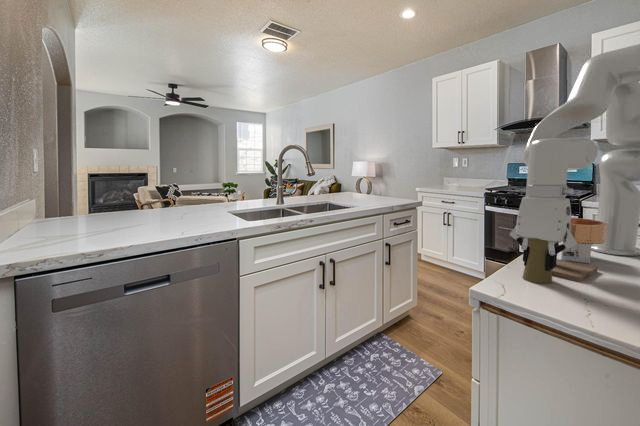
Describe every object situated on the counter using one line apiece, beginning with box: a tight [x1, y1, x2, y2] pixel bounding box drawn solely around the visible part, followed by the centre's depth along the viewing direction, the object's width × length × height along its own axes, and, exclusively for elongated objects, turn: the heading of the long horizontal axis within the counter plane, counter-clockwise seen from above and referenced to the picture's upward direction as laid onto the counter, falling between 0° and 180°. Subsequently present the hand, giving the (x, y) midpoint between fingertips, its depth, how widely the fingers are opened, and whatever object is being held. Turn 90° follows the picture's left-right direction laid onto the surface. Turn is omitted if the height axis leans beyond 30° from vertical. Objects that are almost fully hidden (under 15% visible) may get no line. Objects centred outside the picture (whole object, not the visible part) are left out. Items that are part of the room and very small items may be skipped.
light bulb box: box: [557, 241, 592, 264], centre depth 92 cm, size 11×7×11 cm, turn 148°
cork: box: [521, 238, 553, 285], centre depth 75 cm, size 6×6×11 cm
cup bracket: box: [551, 217, 608, 283], centre depth 80 cm, size 12×13×14 cm
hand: (538, 266), depth 76 cm, fingers closed on cork, 3 cm apart
